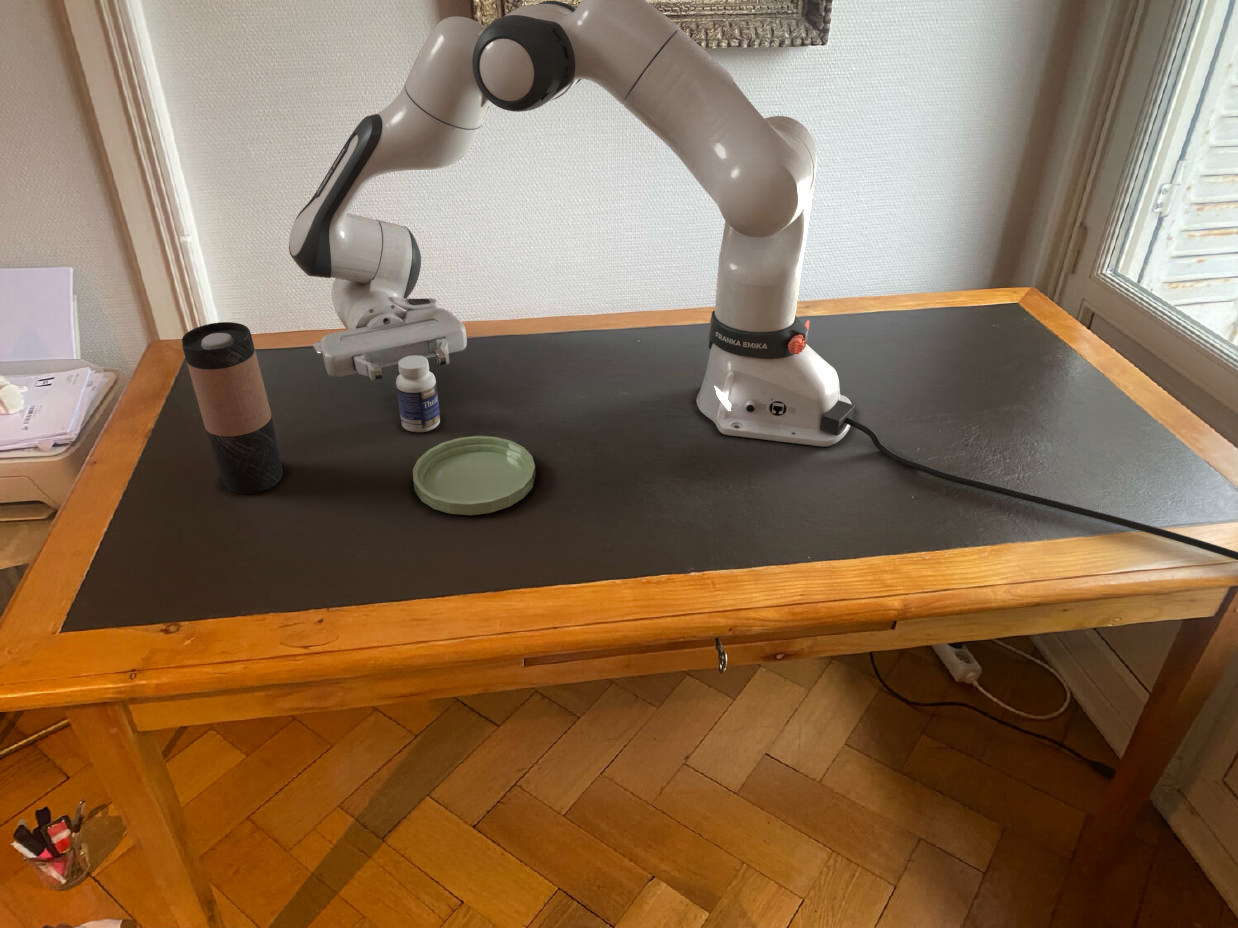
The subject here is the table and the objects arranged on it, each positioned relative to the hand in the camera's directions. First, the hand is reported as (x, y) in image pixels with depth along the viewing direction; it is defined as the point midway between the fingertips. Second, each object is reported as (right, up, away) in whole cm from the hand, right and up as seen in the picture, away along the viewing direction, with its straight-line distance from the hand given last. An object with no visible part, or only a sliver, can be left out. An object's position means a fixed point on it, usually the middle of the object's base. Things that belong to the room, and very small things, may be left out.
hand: (411, 367), depth 121 cm
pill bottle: (+1, -8, +4) cm, 9 cm away
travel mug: (-18, -15, -8) cm, 25 cm away
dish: (+10, -15, -8) cm, 20 cm away
